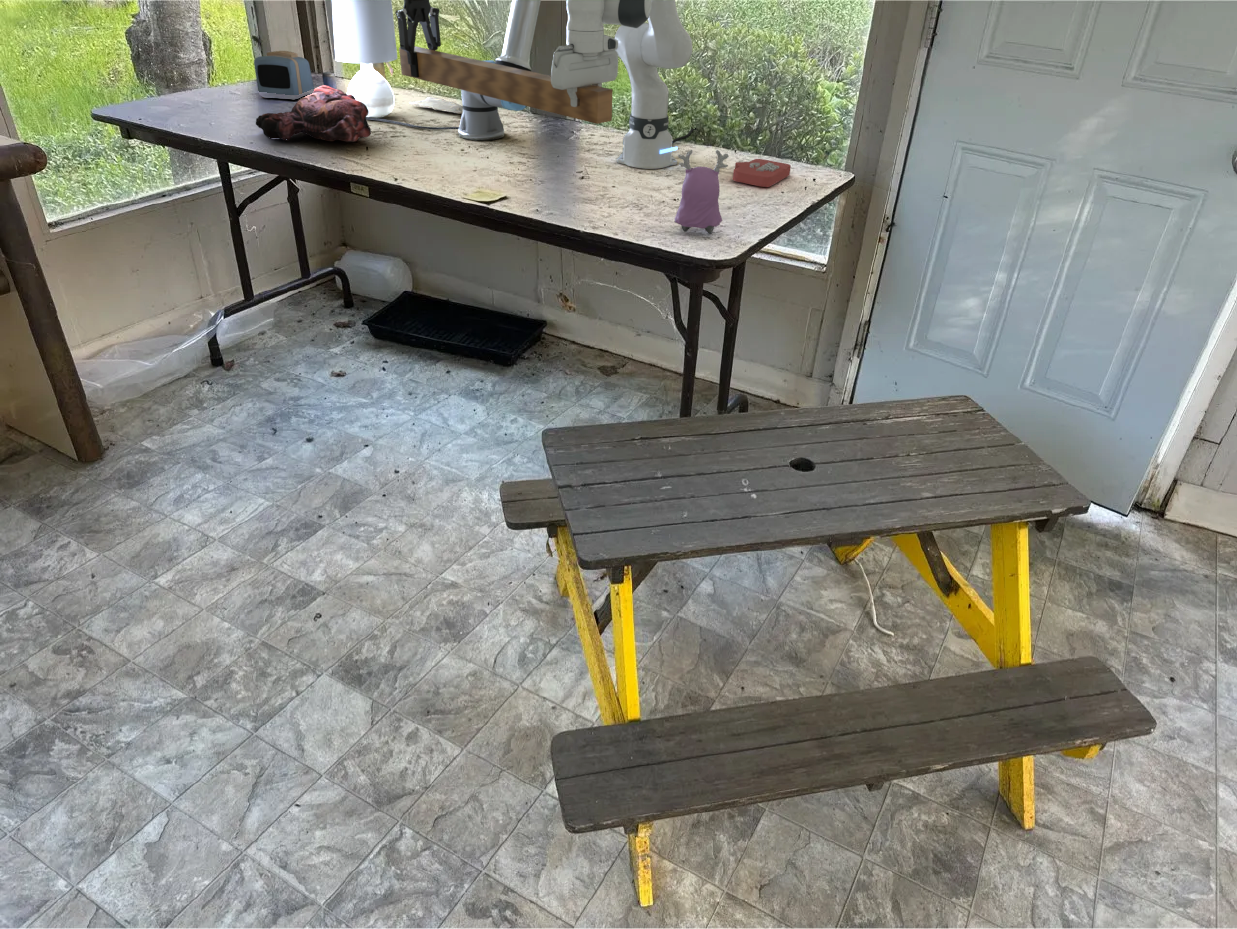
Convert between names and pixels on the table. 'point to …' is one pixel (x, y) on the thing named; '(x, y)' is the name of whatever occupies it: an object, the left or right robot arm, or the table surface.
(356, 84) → the lamp
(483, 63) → the post
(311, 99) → the raw meat chunk
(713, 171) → the toy character
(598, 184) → the table surface
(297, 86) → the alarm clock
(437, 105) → the stone tool
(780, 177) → the plaque
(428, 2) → the left robot arm
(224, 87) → the table surface
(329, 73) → the beverage can
